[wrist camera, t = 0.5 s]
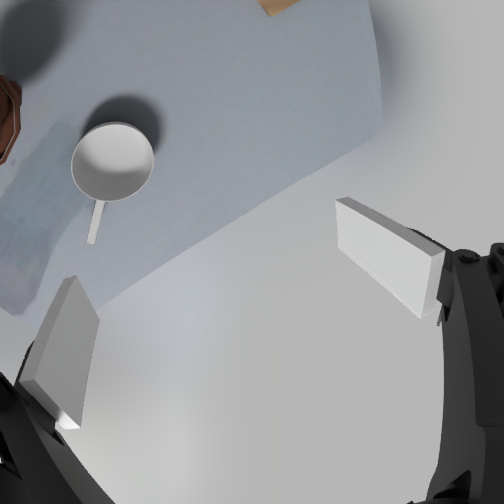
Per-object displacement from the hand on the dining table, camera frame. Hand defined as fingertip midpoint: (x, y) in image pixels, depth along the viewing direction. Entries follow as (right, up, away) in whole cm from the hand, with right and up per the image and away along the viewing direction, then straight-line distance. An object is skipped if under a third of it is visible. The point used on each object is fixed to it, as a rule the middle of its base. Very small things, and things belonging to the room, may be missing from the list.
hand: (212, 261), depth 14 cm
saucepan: (-19, +11, +22) cm, 31 cm away
